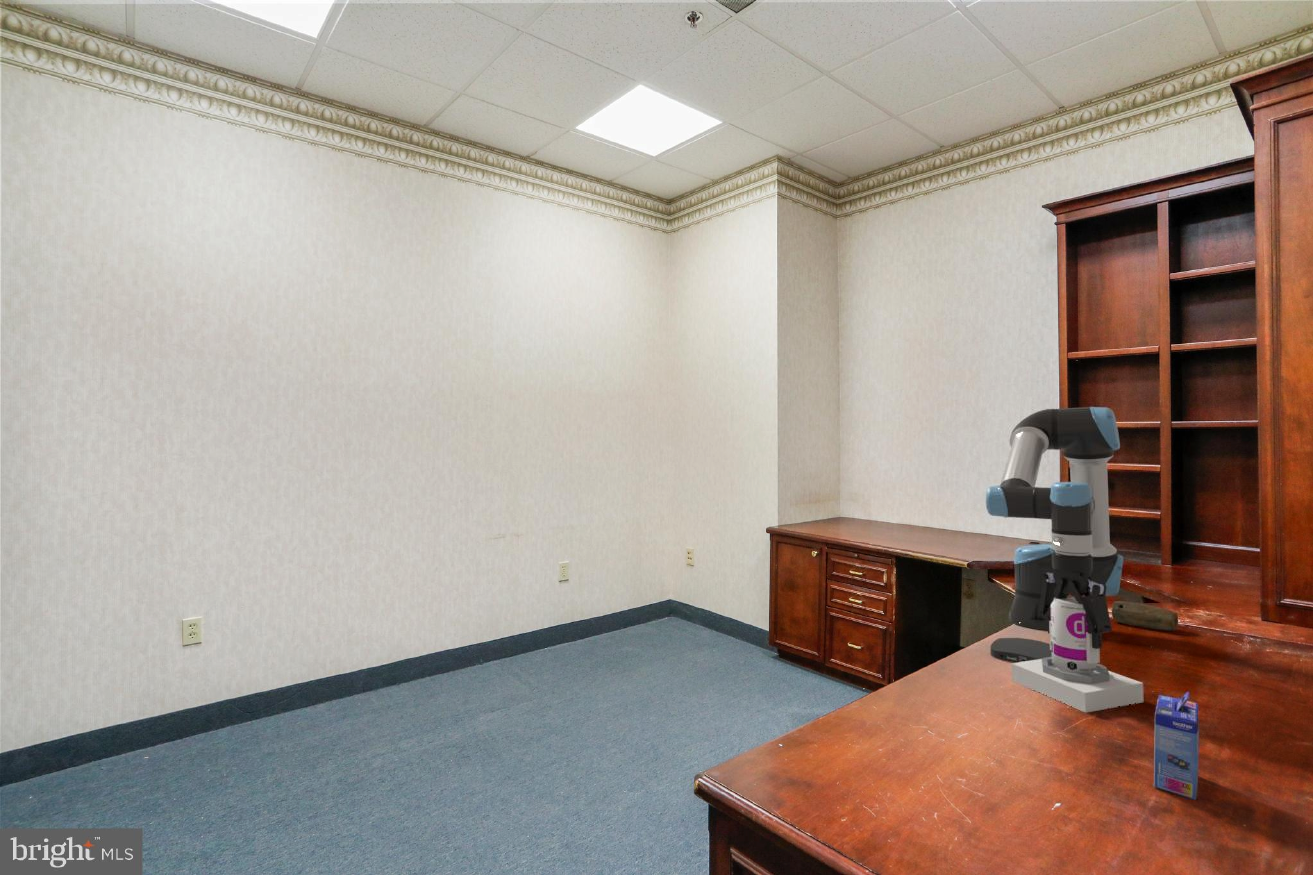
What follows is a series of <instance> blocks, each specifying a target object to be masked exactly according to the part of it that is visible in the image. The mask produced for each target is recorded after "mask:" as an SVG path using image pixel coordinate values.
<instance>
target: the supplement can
mask: <svg viewBox="0 0 1313 875" xmlns="http://www.w3.org/2000/svg"><path fill="white" fill-rule="evenodd" d="M1087 631H1090V630H1089V628H1088V625H1087V623H1086V612H1085V610H1084V608H1083V604H1079V602H1078V601H1076V599H1075V597H1074V596H1067V598H1062V599H1057V598H1056V597H1055V598H1054V601H1053V602H1052V604H1051V643H1052V663H1053V664H1054V665H1055V666H1056V668H1058V669H1060V670H1062V671H1065V672H1070V673H1077V674H1091V673H1093V671H1096V669H1097V664H1098V663H1092V664H1089V663H1087V652H1086V632H1087Z"/></svg>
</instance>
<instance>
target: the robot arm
mask: <svg viewBox="0 0 1313 875" xmlns="http://www.w3.org/2000/svg"><path fill="white" fill-rule="evenodd" d="M1118 429H1119V428H1118V423H1117V420H1116V416H1115V413H1114V411H1113V409H1111V408H1109V407H1105V406H1104V407H1098V406H1096V407H1095V406H1088V407H1087V406H1086V407H1085V406H1084V407H1068V408H1065V407H1064V408H1046V409H1041V410H1039V411H1036V412H1034V413H1031V414H1029V415H1028V416H1027V417H1025V418H1024V419H1022V420H1021V421H1020V422H1019V423H1017V424H1016V426H1015V427H1014V429H1013V430H1012V432H1010V433H1011V434H1010V437H1009V446H1010V450H1009V453H1008V454H1009V455H1008V459H1007V461H1006V464H1005V468H1004V471H1003V474H1002V478H1001V480H1000V483H999V484H1000V485H992V486H988V488H987V489H986V493H985V506H986V511H987V514H989V515H990V516H993V517H1003V518H1005V519H1006V518H1016V519H1017V518H1019V519H1021V518H1022V519H1039V520H1051V532H1050V533H1051V544H1049V543H1048V544H1047V543H1046V544H1045V543H1044V544H1043V543H1042V544H1028V545H1022V546H1019V547H1018V548H1016V549H1015V550H1014V559H1013V564H1014V598H1013V601H1012V603H1011V607H1010V610H1008V619H1009V622H1011V623H1013V624H1014V625H1017V624H1018V626H1021V627H1025V628H1029V629H1035V630H1046V631H1047V634H1048V635H1049V644H1050V650H1052V643H1051V604H1052V602H1053V601H1054V598H1055V597H1056V598H1057V599H1062V598H1067V597H1069V596H1071V597H1075V599H1076V601H1078V602H1079V604H1083V608H1084V610H1085V612H1086V623H1087V625H1088V628H1089V630H1090V631H1087V632H1086V652H1087V663H1089V664H1092V663H1097V664H1100V661H1101V658H1100V649H1102V648H1103V634H1105V633H1110V632H1112V631H1113V628H1112V623H1111V618H1110V612H1109V607H1108V606H1109V605H1108V602H1107V597H1114V596H1116V595H1117V594H1118V593H1119V591H1120V585H1121V580H1122V572H1123V571H1122V570H1123V565H1124V556H1122V555H1121V554H1117V552H1118V550H1117V547H1115V546H1114V545H1112V544H1111V542H1110V540H1111V538H1110V536H1111V535H1110V510H1109V509H1110V508H1109V482H1108V480H1109V479H1108V462H1109V461H1110V460H1111V459H1112V458H1113V457H1114V452H1115V451H1118V450H1120V448H1121V442H1120V435H1119V430H1118ZM1048 450H1051V451H1052V450H1055V451H1057V450H1058V451H1059V450H1060V451H1062V453H1063V454H1062V455H1063V457H1064V458H1065V459H1066V460H1067V461H1068V462H1069V468H1070V469H1069V472H1070V473H1069V474H1070V481H1059V482H1058V481H1057V482H1053V483H1052V484H1051V485H1050V487H1039V486H1038V487H1037V486H1036V484H1037V480H1038V479H1037V478H1038V475H1039V474H1038V473H1039V472H1040V470H1039V469H1040V466H1041V462H1042V458H1043V457H1042V456H1043V454H1045V453H1046V452H1047V451H1048ZM1019 622H1021V623H1020V624H1019Z"/></svg>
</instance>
